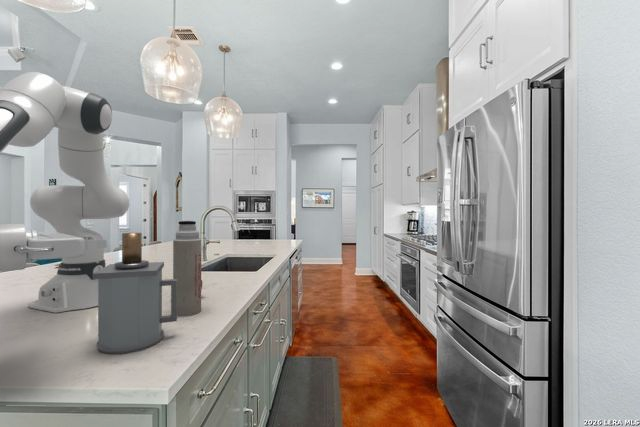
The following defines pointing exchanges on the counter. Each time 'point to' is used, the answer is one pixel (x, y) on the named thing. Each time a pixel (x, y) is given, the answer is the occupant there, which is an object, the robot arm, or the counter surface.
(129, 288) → the press carafe
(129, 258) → the brown candle holder
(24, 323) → the counter surface
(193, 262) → the thermos bottle
